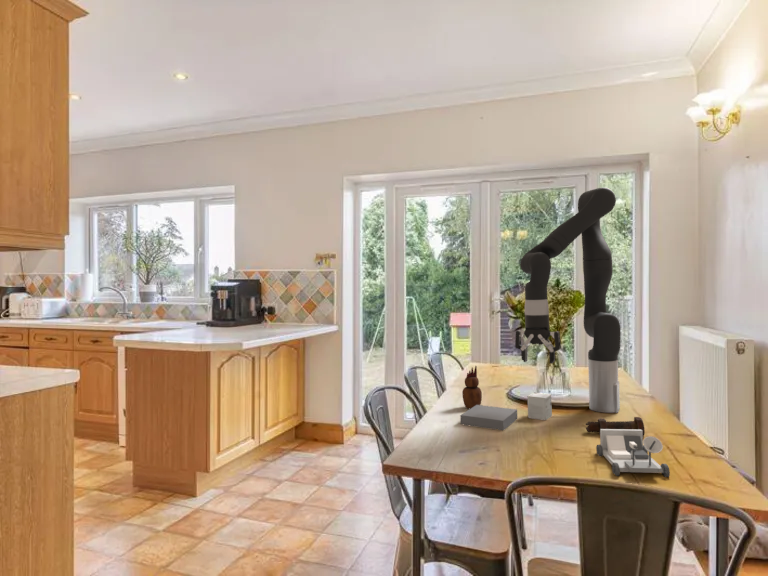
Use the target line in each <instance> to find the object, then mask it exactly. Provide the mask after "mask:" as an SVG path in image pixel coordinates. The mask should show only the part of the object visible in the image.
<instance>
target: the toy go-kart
mask: <svg viewBox="0 0 768 576" xmlns="http://www.w3.org/2000/svg"><path fill="white" fill-rule="evenodd" d="M599 437H600V439H599V442H600V444H596V447H595V449H596V454H597V455H598V457H603V456H604V458H605V459H606V460H607V461H608V462H609V464H611V470H612V474H615V475H616V476H615V475H614V476H615V477H619V476H620V474H621V473H644V474H645V473H650V474H651V473H653V474H655V473H656V474H657V473H658V474H660V473H661V474H662V475H663V476H664V477H665V478H669V477H670V475H671V472H670V466H669V465H668V464H667V463H661V464H659V463H658V461H656V460H655V459H654V458H652V454H658V453H661V452H662V450H663V447H664V446H663V442H661V440H660V439H659V438H657V437H656V436H651V435H650V436H646V437H644V436H643V431H642V430H641V429H600V433H599ZM643 438H644V439H643Z"/></svg>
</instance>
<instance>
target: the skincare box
mask: <svg viewBox="0 0 768 576" xmlns="http://www.w3.org/2000/svg"><path fill="white" fill-rule="evenodd" d="M552 405H553V404H552V394H550V393H544V392H543V393H541V392H533V393H530V394H529V395H527V418H528V419H533V420H534V419H535V420H541V421H547V420H548V419H549V418H552V416H553V411H552Z"/></svg>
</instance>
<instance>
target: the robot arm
mask: <svg viewBox="0 0 768 576" xmlns="http://www.w3.org/2000/svg"><path fill="white" fill-rule="evenodd" d="M616 202H617V197H616V195H615V192H614V191H613V190H612V189H610V188H608V187H597V188H594V189H590V190H587V191H584V192H583V193H581V195H580V196H579V198H578V199H577V213H576V214H574V215H573V216H572V217H570V218H569V219H567V220H566V221H564V222H563V223H561V224H560V225H558V226H557V227H556V228H555V229H553V230H552V231H551V232H550V233H549V234H548V236H546V237H545V238H544V239H543V240H542V241H541V242H540V243H538V244H537V245H536V246H534V247H533V248H531V249H530V250H528V251H527V252H526V253H525V254H524V255H523V256H522V257H521V260H520V263H519V264H520V269H521V271H522V272H523V273H525V274H527V275H530V279H529V281H528V282H526V284H525V285H524V297H525V298H524V299H525V301H524V310H523V311H524V320H525V321H524V328H525V329H524V330H520V329H519V330H516V331H515V339H514V340H515V341H514V342H515V346H514V347H515V349H517V350H518V349H519V350H520V351H521V354H520V355H521V361H522V362H524V363H527V362H528V350H527V348H528V347H529V346H530V345H536V344H537V345H541V346H542V345H544V346H545V347H546V348H547V349H548V351H549V354H548V355H549V364H553V363H555V361H556V352H557V351H560V350H561V349H562V344H561V334H560V331H559V330H556V331H551V330H550V314H549V313H550V310H549V309H550V307H549V300H548V283H549V281H550V276H551V272H552V271H551V270H552V263H551V259H553V258H556V257H558V256H559V255H560V254H562V253H563V252H564V251H565V250H566V249H567V248H568V247H569V246H570V245H571V244H572V243H574V241H575V240H576V239H577V238H578V237H579V236H580V235H581V245H582V247H581V248H582V269H583V270H582V271H583V287H584V288H583V289H584V290H583V291H584V307H583V308H584V309H583V329H584V331H585V333H586V334H587V335H588V336H589V337H591V338H593V339H592V340H593V343H592V348H591V349H589V350H588V352H587V359H588V360H587V362H588V363H587V364H588V397H589V401H588V402H589V403H588V405H589V410H590V411H593V412H597V413H598V412H599V413H606V414H608V413H609V414H610V413H619V411H620V409H621V406H620V405H621V404H620V403H621V402H620V399H621V398H620V397H621V395H620V381H619V359H618V357H619V353H620V351H621V333H622V332H621V324H620V323H621V322H620V321H619V318H618V317H617V316H616V315H614V314H613V313H609V312H607V304H606V300H607V299H606V298H607V292H608V289H609V288H610V287H609V286H610V284H611V281H612V277H613V255H612V252H611V249H610V247H609V244H608V243H607V241H606V239H605V237H604V236H603V233H602V230H601V219H602V218H604V217H605V216H606V215H607V214H609V213H610V212H612V210H613V209H614V208H615V206H616ZM551 336H552V338H553V339H554V345H553V344H552V341H550V337H551ZM523 337H525V338H526V340H525V341H524V343H523V344H522V338H523Z"/></svg>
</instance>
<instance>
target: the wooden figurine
mask: <svg viewBox="0 0 768 576" xmlns="http://www.w3.org/2000/svg"><path fill="white" fill-rule="evenodd" d="M477 368H478V367H477V365H475V367H474V368H473V367H471V370H469V372H467V373H466V377H465V378H464V385H465V387H463V389H462V392H461V394H462V401H463V404H464V406H465V408H466V409H468V410H469V409H471V408H472V407H474V406H475V405H482V397H483V394H482V389H481V388H480V387H479V385H480V384H479V383H480V381H479V378H478V374H477V373H478V372H477Z"/></svg>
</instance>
